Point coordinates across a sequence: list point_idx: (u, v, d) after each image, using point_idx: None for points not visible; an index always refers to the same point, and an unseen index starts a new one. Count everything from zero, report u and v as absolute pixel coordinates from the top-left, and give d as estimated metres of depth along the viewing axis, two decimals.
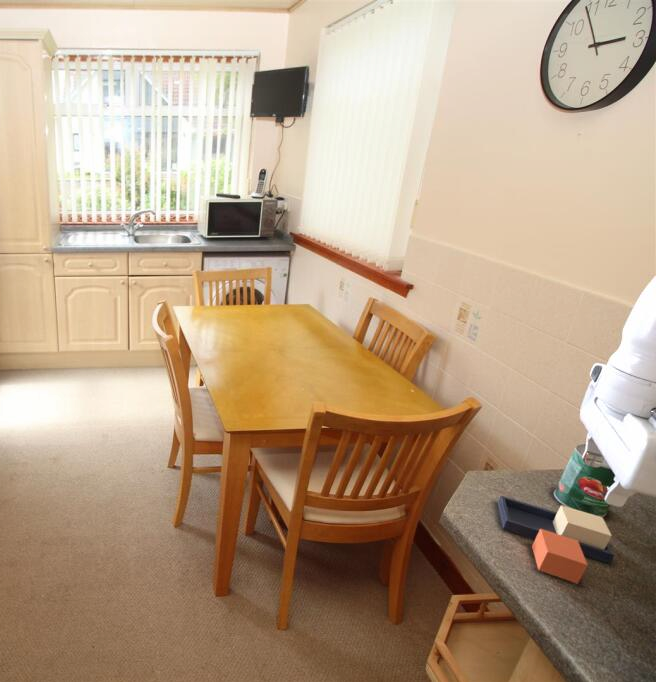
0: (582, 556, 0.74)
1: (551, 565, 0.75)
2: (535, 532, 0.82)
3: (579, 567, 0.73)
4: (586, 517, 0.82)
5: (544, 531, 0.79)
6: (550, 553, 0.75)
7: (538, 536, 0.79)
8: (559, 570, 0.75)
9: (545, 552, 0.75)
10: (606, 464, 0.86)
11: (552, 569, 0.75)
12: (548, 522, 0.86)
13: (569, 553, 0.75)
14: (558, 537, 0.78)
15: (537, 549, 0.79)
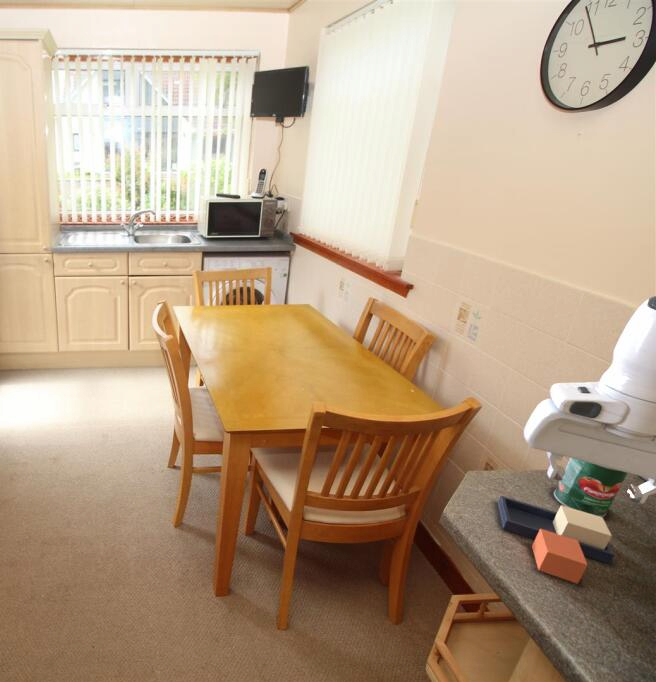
0: (582, 556, 0.74)
1: (551, 565, 0.75)
2: (535, 532, 0.82)
3: (579, 567, 0.73)
4: (586, 517, 0.82)
5: (544, 531, 0.79)
6: (550, 553, 0.75)
7: (538, 536, 0.79)
8: (559, 570, 0.75)
9: (545, 552, 0.75)
10: None
11: (552, 569, 0.75)
12: (548, 522, 0.86)
13: (569, 553, 0.75)
14: (558, 537, 0.78)
15: (537, 549, 0.79)
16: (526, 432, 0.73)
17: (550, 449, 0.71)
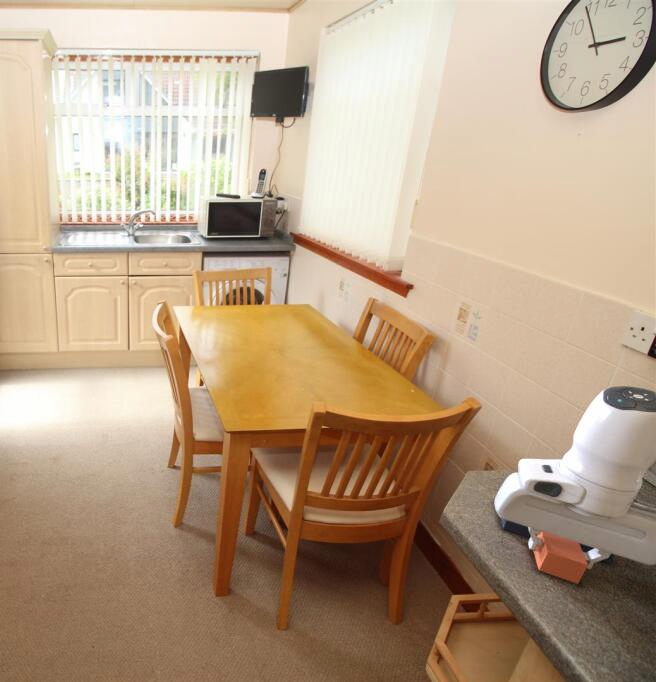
0: (582, 556, 0.74)
1: (551, 565, 0.75)
2: None
3: (579, 567, 0.73)
4: None
5: None
6: (550, 553, 0.75)
7: None
8: (559, 570, 0.75)
9: (546, 552, 0.75)
10: None
11: (552, 569, 0.75)
12: None
13: (569, 553, 0.75)
14: (558, 537, 0.78)
15: None
16: (496, 503, 0.79)
17: (517, 521, 0.77)
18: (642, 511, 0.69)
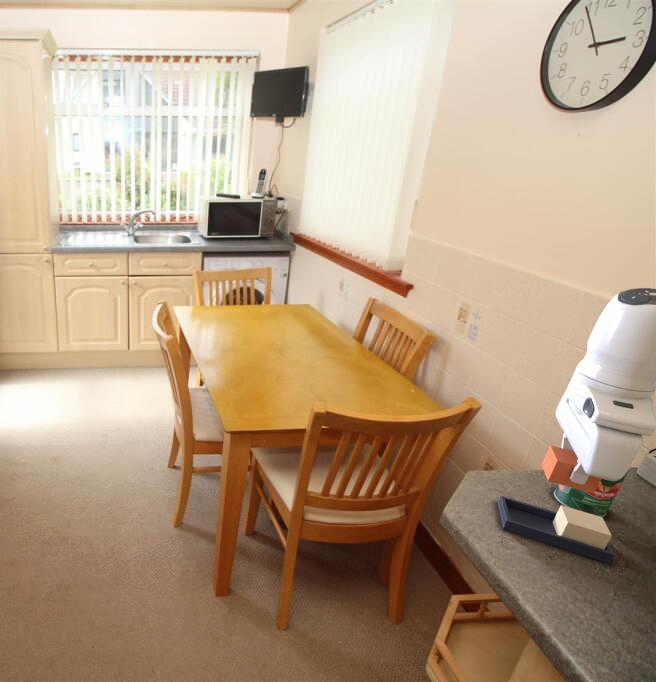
0: None
1: None
2: (535, 532, 0.82)
3: None
4: (586, 517, 0.82)
5: (561, 460, 0.75)
6: None
7: (560, 468, 0.75)
8: None
9: None
10: None
11: None
12: (548, 522, 0.86)
13: None
14: (561, 455, 0.76)
15: None
16: (607, 471, 0.66)
17: None
18: None
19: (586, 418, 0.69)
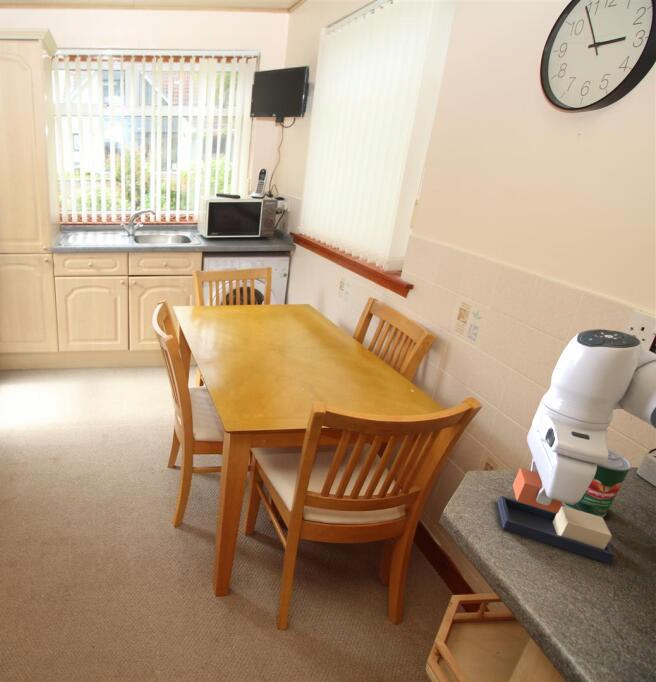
0: None
1: None
2: (535, 532, 0.82)
3: None
4: (586, 517, 0.82)
5: (528, 482, 0.82)
6: None
7: (527, 490, 0.82)
8: None
9: None
10: (606, 464, 0.86)
11: None
12: (548, 522, 0.86)
13: None
14: (529, 477, 0.83)
15: None
16: (565, 496, 0.73)
17: None
18: None
19: (548, 446, 0.76)
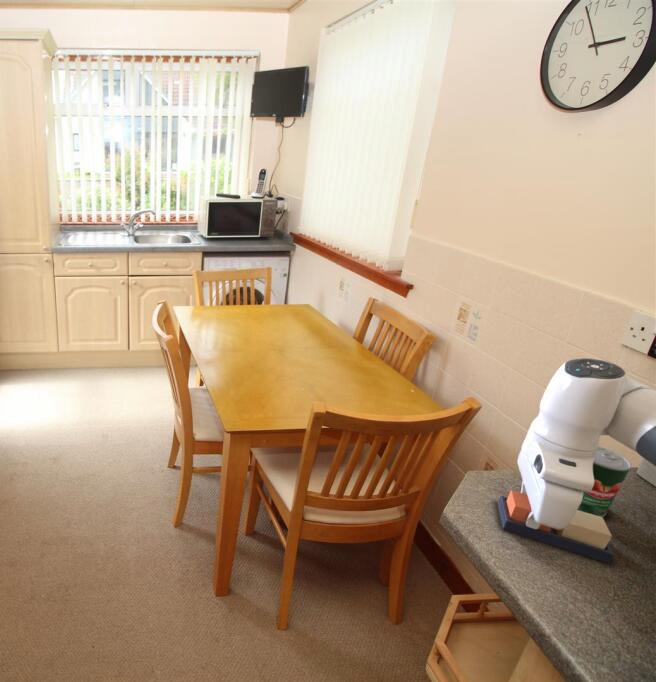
0: None
1: None
2: (535, 532, 0.82)
3: None
4: (586, 517, 0.82)
5: (519, 505, 0.84)
6: None
7: (518, 512, 0.84)
8: None
9: None
10: (606, 464, 0.86)
11: None
12: None
13: None
14: (519, 500, 0.85)
15: None
16: (553, 521, 0.75)
17: None
18: None
19: (537, 472, 0.78)
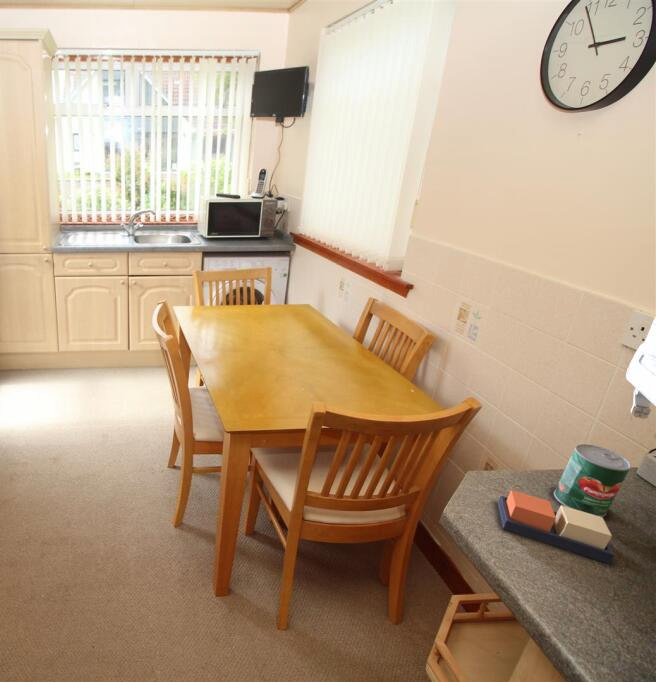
0: (538, 498, 0.86)
1: None
2: (535, 532, 0.82)
3: None
4: (586, 517, 0.82)
5: (519, 505, 0.84)
6: (555, 517, 0.82)
7: (518, 512, 0.84)
8: None
9: (551, 519, 0.82)
10: (606, 464, 0.86)
11: None
12: None
13: (542, 504, 0.84)
14: (519, 500, 0.85)
15: (526, 522, 0.84)
16: None
17: None
18: None
19: None
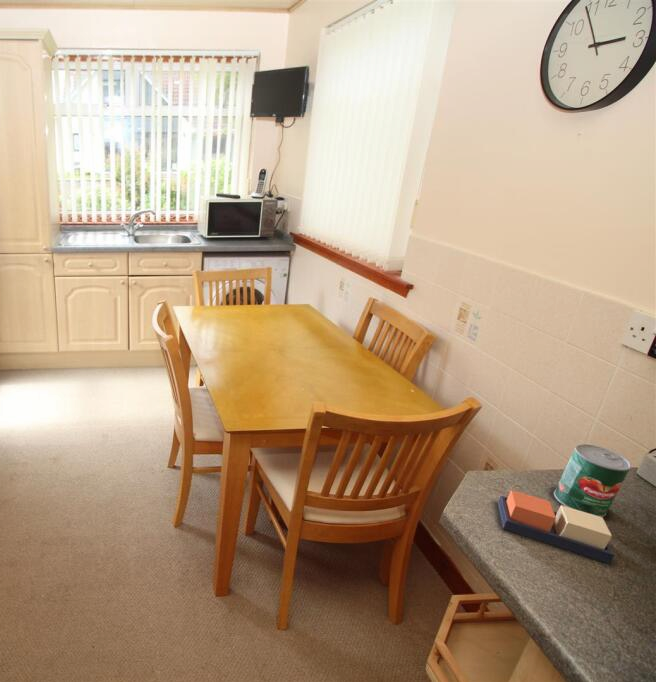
0: (538, 498, 0.86)
1: None
2: (535, 532, 0.82)
3: None
4: (586, 517, 0.82)
5: (519, 505, 0.84)
6: (555, 517, 0.82)
7: (518, 512, 0.84)
8: None
9: (551, 519, 0.82)
10: (606, 464, 0.86)
11: None
12: None
13: (542, 504, 0.84)
14: (519, 500, 0.85)
15: (526, 522, 0.84)
16: None
17: None
18: None
19: None
